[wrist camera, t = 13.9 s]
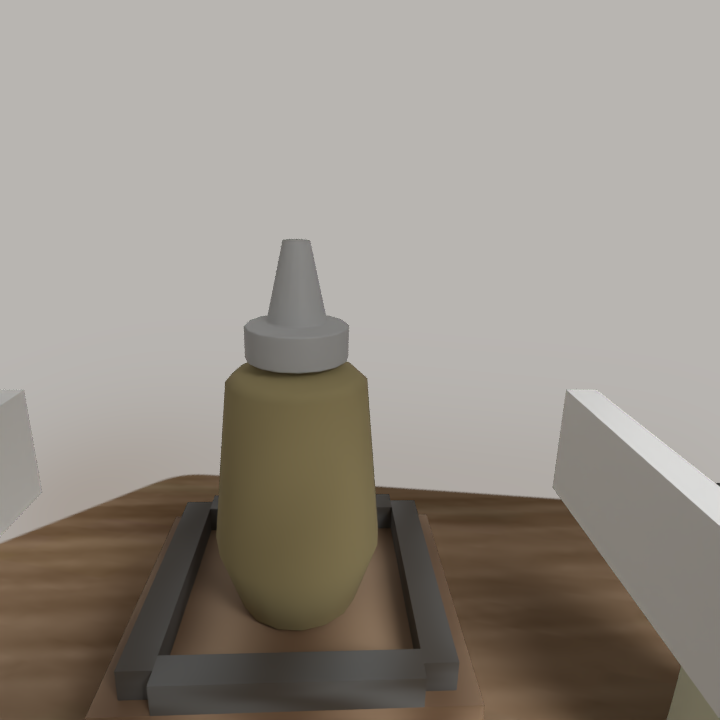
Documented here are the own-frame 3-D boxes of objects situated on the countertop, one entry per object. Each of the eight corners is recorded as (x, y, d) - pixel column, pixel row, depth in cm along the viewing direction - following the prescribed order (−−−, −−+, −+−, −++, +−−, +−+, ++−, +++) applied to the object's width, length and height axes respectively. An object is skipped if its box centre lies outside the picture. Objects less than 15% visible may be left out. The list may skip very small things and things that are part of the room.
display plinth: (421, 578, 38) (427, 493, 36) (473, 793, 24) (488, 676, 22) (181, 582, 37) (174, 495, 35) (99, 808, 23) (80, 688, 21)
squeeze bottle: (406, 582, 30) (426, 242, 25) (304, 684, 24) (303, 256, 18) (295, 527, 34) (292, 229, 29) (186, 600, 28) (156, 239, 23)
